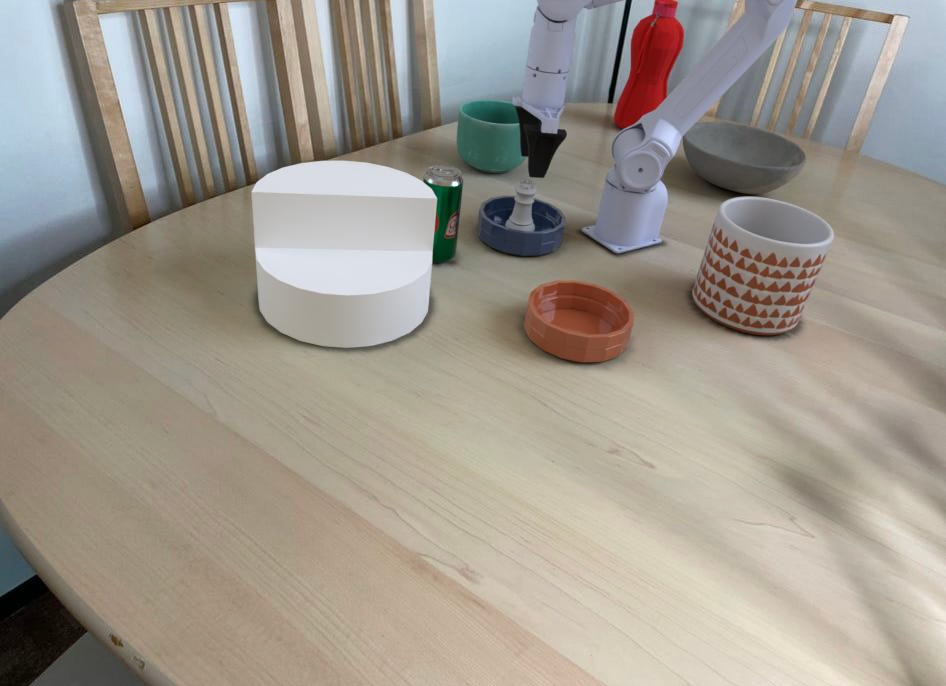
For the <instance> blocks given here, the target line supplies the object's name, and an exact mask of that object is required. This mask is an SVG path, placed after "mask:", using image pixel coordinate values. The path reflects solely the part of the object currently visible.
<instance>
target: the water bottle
mask: <svg viewBox="0 0 946 686" xmlns="http://www.w3.org/2000/svg"><path fill="white" fill-rule="evenodd" d="M678 4H679V1H676V0H654V2H653V8H652V12H651V14H649V15H648V16H646V17H643V18H641V19H640V20H639V22H638V23H637V24H636V25H635V27H634V29H633V31H632V34H631V39H630V70H629V75H628V78H627V80H626V83H625V84H624V87H623V90H622V92H621V93H620V96H619V97H618V101H617V104H616V107H615V111H614V115H613V122H614V124H615V126H616V127H617V128H619V129H622V130H623V129H625V128H627V127H629V126H632V125H634V124H635V123H636V122H638V121H639V120H640V118H641V117H642V116H643V115H645V114H647V113H649V112H652V111H654V110H655V109H657V107H658V106H659V105H660V104H661V103H662V102H663V101H664V100H665V99H666V98H667V97H668V81H669V78H670V74H671V72H672V70H673V68H674V66H675V64H676V62H677V60H678V58H679V55H680V53H681V52H682V49H683V47H684V41H685V29H684V27H683V25H682V24H681V22H680V21H679V20H678V19H677V18H676V12H677V8H678Z"/></svg>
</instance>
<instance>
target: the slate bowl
mask: <svg viewBox="0 0 946 686" xmlns="http://www.w3.org/2000/svg"><path fill="white" fill-rule="evenodd" d="M515 197H516V195H500V196H495V197H494V196H493V197H490V198H488V199H487V200H484V201H482V203H481V204H480V207H479V209H478V214H477V215H478V216H477V224H476V233H477V235H478V237H479V239H480V240H481V241H483V243H484V244H486V245H487V246H489V247H491V248H493V250H494V249H495V250H497V251H500V252H502V253H505V254H509V255H514V256H519V257H536V256H542V255H546V254H550V253H553V252H555V251H556V250H557V249H559V248H560V247H561V245H562V241H563V236H564V230H565V226H566V221H567V218H566V216H565V214H564V213H563V211H562V210H561V209H560V208H558V207H556V206H554V205H553V204H552V203H550V202H547V201H544V200H541V199H538V198H534V197H533V199H534V202H533V203H532V219H533V223H534V225H535V230H534V231H520V230H515V229H509V228H507V227H506V226H505V224H506V221H507V220H509V217H510V216H511V215H512V213H513V209H514V206H515V199H514V198H515Z"/></svg>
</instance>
